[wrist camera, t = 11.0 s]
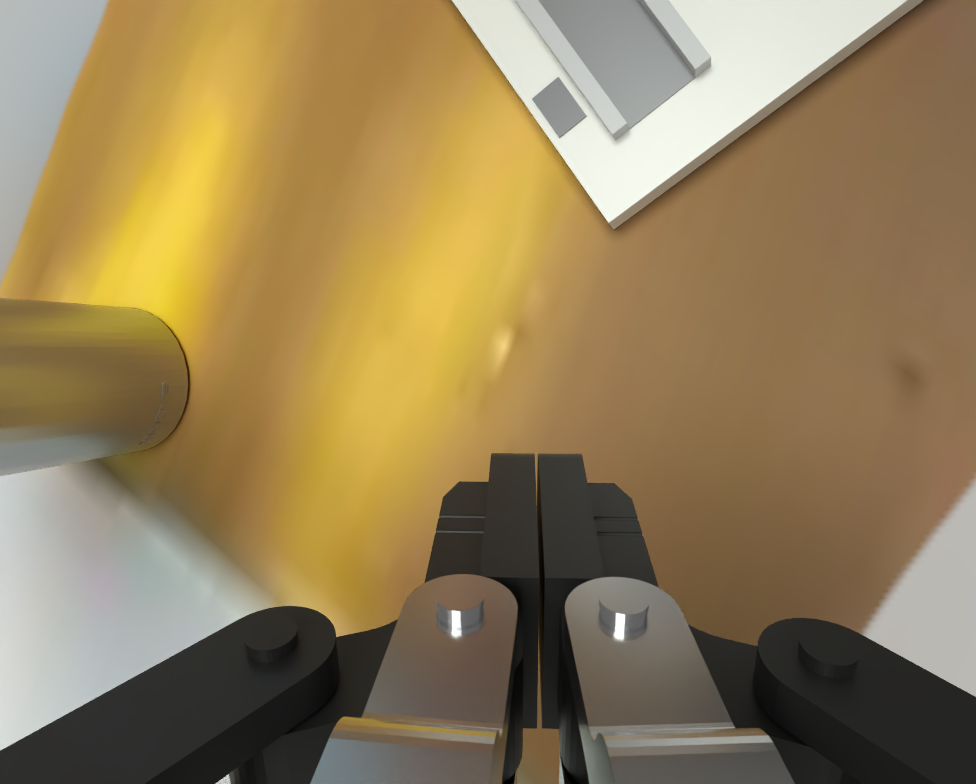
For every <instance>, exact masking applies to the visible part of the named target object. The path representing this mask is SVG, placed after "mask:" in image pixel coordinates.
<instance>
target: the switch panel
mask: <svg viewBox="0 0 976 784" xmlns="http://www.w3.org/2000/svg"><path fill="white" fill-rule="evenodd" d="M452 1H453V2H454V4H455V5H456V7H457V8H458V10H459V11H460V12H461V14H462V15H463V17H464V18H465V20H466V21H467V22H468V24H469V25H470V27H471V28H472V30H473V31H474V32H475V34H476V35H477V37H478V38H479V39H480V41H481V42H482V44H483V45H484V47H485V48H486V49H487V51H488V52H489V54H490V55H491V57H492V58H493V59H494V61H495V62H496V64H497V65H498V66H499V68H500V69H501V71H502V72H503V74H504V75H505V76H506V78H507V79H508V81H509V82H510V84H511V85H512V86H513V88H514V89H515V91H516V92H517V93H518V95H519V96H520V98H521V99H522V101H523V102H524V103H525V105H526V106H527V108H528V109H529V111H530V112H531V113H532V115H533V116H534V118H535V119H536V120H537V122H538V123H539V125H540V126H541V128H542V129H543V130H544V132H545V133H546V135H547V136H548V138H549V139H550V140H551V142H552V143H553V145H554V146H555V147H556V149H557V150H558V152H559V153H560V155H561V156H562V157H563V159H564V160H565V162H566V163H567V165H568V166H569V167H570V169H571V170H572V172H573V173H574V174H575V176H576V177H577V179H578V180H579V182H580V183H581V184H582V186H583V187H584V189H585V190H586V192H587V193H588V194H589V196H590V197H591V199H592V200H593V201H594V203H595V204H596V206H597V207H598V209H599V210H600V211H601V213H602V214H603V216H604V217H605V219H606V220H607V221H608V223H609V224H610V225H611V227H612V228H613V229H616V228H617V227H618V226H620V225H621V224H622V223H624V222H625V221H626V220H628V219H629V218H630V217H632V216H633V215H634V214H636V213H637V212H638V211H640V210H641V209H643V208H644V207H645V206H647V205H648V204H649V203H651V202H652V201H653V200H655V199H656V198H657V197H659V196H660V195H661V194H663V193H664V192H666V191H667V190H668V189H670V188H671V187H672V186H674V185H675V184H676V183H678V182H679V181H680V180H682V179H683V178H684V177H686V176H687V175H688V174H690V173H691V172H693V171H694V170H695V169H697V168H698V167H699V166H701V165H702V164H703V163H705V162H706V161H707V160H709V159H710V158H711V157H713V156H714V155H715V154H717V153H718V152H720V151H721V150H722V149H724V148H725V147H726V146H728V145H729V144H730V143H732V142H733V141H734V140H736V139H737V138H738V137H740V136H741V135H743V134H744V133H745V132H747V131H748V130H749V129H751V128H752V127H753V126H755V125H756V124H757V123H759V122H760V121H761V120H763V119H764V118H765V117H767V116H768V115H770V114H771V113H772V112H774V111H775V110H776V109H778V108H779V107H780V106H782V105H783V104H784V103H786V102H787V101H788V100H790V99H791V98H793V97H794V96H795V95H797V94H798V93H799V92H801V91H802V90H803V89H805V88H806V87H807V86H809V85H810V84H811V83H813V82H814V81H815V80H817V79H818V78H820V77H821V76H822V75H824V74H825V73H826V72H828V71H829V70H830V69H832V68H833V67H834V66H836V65H837V64H838V63H840V62H841V61H843V60H844V59H845V58H847V57H848V56H849V55H851V54H852V53H853V52H855V51H856V50H857V49H859V48H860V47H861V46H863V45H864V44H865V43H867V42H868V41H870V40H871V39H872V38H874V37H875V36H876V35H878V34H879V33H880V32H882V31H883V30H884V29H886V28H887V27H888V26H890V25H891V24H892V23H894V22H895V21H897V20H898V19H899V18H901V17H902V16H903V15H905V14H906V13H907V12H909V11H910V10H911V9H913V8H914V7H915V6H917V5H918V4H920V3H921V2H922V1H924V0H452Z"/></svg>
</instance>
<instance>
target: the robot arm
mask: <svg viewBox="0 0 976 784" xmlns="http://www.w3.org/2000/svg"><path fill="white" fill-rule="evenodd" d="M187 391H188V375H187V367H186V363H185V359H184V355H183V352H182V350H181V348H180V346H179V343H178V341H177V339H176V338H175V337H174V335H173V334H172V332H171V331H170V329H169V328H168V327H167V326H166V325H165V324H164V323H163V322H162V321H161V320H159V319H158V318H157V317H155V316H153V315H152V314H150V313H148V312H146V311H143V310H139V309H136V308H126V307H113V306H100V305H86V304H76V303H62V302H48V301H34V300H21V299H7V298H0V476H4V475H10V474H15V473H21V472H26V471H32V470H37V469H43V468H48V467H54V466H60V465H65V464H71V463H76V462H82V461H88V460H93V459H98V458H104V457H110V456H115V455H121V454H126V453H132V452H137V451H143V450H146V449H149V448H151V447H154V446H156V445H158V444H159V443H160V442H162V441H163V440H164V439H166V438H167V437H168V436H169V435H170V433H171V432H172V431H173V430H174V429H175V427H176V426H177V424H178V422H179V420H180V418H181V416H182V414H183V410H184V407H185V404H186V400H187ZM538 629H539V658H540V688H541V717H542V728H552V729H559V740H560V765H559V784H976V697H975V696H973V695H971V694H969V693H967V692H965V691H964V690H962V689H960V688H958V687H956V686H954V685H953V684H951V683H949V682H947V681H945V680H943V679H941V678H940V677H938V676H936V675H934V674H932V673H931V672H929V671H927V670H925V669H923V668H921V667H920V666H918V665H916V664H914V663H912V662H910V661H908V660H907V659H905V658H903V657H901V656H899V655H897V654H896V653H894V652H892V651H890V650H888V649H887V648H884V647H883V646H881V645H879V644H877V643H876V642H874V641H872V640H870V639H868V638H867V637H865V636H863V635H861V634H859V633H857V632H855V631H853V630H851V629H849V628H846V627H843V626H841V625H838V624H835V623H831V622H828V621H823V620H817V619H809V618H792V619H785V620H781V621H778V622H775V623H773V624H771V625H769V626H768V627H767V628H766V629H765V630H764V631H763V632H762V634H761V635H760V638H759V641H758V646H753V645H748V644H744V643H740V642H736V641H732V640H728V639H723V638H720V637H716V636H713V635H710V634H707V633H705V632H702V631H700V630H698V629H696V628H694V627H692V626H690V625H688V624H687V622H686V619H685V617H684V615H683V613H682V611H681V609H680V607H679V605H678V604H677V602H676V601H675V600H674V599H673V598H672V597H671V596H670V595H669V594H667V593H666V592H665V591H663V590H661V589H660V588H659V587H658V584H657V580H656V577H655V574H654V571H653V567H652V564H651V561H650V557H649V554H648V551H647V547H646V544H645V541H644V538H643V536H642V531H641V528H640V524H639V521H637V514H636V511H635V508H634V505H633V501H632V499H631V498H630V497H629V496H628V495H627V494H626V493H624V492H623V491H622V490H621V489H620V488H619V487H618V486H617V485H616V484H614V483H587V479H586V473H585V468H584V463H583V458H582V454H538V471H537V505H536V480H535V455H534V454H511V453H491V462H490V472H489V482H458V483H457V484H456V485H455V486H454V487H453V488H452V489H451V490H450V491H449V492H448V493H447V494H446V495H445V496H444V497H443V501H442V505H441V510H440V514H439V519H438V524H437V528H436V533H435V537H434V542H433V547H432V551H431V556H430V560H429V565H428V570H427V574H426V579H425V583H424V584H422V585H420V586H419V587H417V588H416V589H415V590H414V591H413V592H411V594H410V595H409V596H408V597H407V599H406V601H405V603H404V605H403V608H402V610H401V613H400V616H399V618H398V619H397V620H396V621H394V622H392V623H390V624H387V625H385V626H382V627H379V628H376V629H372V630H368V631H364V632H359V633H354V634H349V635H345V636H340V637H336V633H335V629H334V626H333V624H332V623H331V621H330V620H329V619H328V618H327V617H326V616H325V615H323V614H321V613H320V612H318V611H315V610H312V609H309V608H305V607H298V606H282V607H274V608H268V609H265V610H261V611H258V612H255V613H252V614H249V615H247V616H245V617H243V618H241V619H239V620H237V621H235V622H234V623H232V624H230V625H228V626H226V627H224V628H223V629H221V630H219V631H217V632H215V633H214V634H212V635H210V636H208V637H206V638H204V639H203V640H201V641H199V642H197V643H195V644H194V645H192V646H190V647H188V648H186V649H184V650H183V651H181V652H179V653H177V654H175V655H174V656H172V657H170V658H168V659H166V660H164V661H163V662H161V663H159V664H157V665H155V666H154V667H152V668H150V669H148V670H146V671H144V672H143V673H141V674H139V675H137V676H135V677H134V678H132V679H130V680H128V681H126V682H124V683H123V684H121V685H119V686H117V687H115V688H114V689H112V690H110V691H108V692H106V693H104V694H103V695H101V696H99V697H97V698H95V699H94V700H92V701H90V702H88V703H86V704H84V705H83V706H81V707H79V708H77V709H75V710H74V711H72V712H70V713H68V714H66V715H65V716H63V717H61V718H59V719H57V720H55V721H54V722H52V723H50V724H48V725H46V726H45V727H43V728H41V729H39V730H37V731H35V732H34V733H32V734H30V735H28V736H26V737H25V738H23V739H21V740H19V741H17V742H15V743H14V744H12V745H10V746H8V747H6V748H5V749H3V750H1V751H0V784H215V783H216V782H218V781H219V780H221V779H222V778H223V777H225V776H226V775H228V774H229V776H230V782H231V784H517V768H518V766H519V764H520V761H521V758H522V749H523V728H537V686H538Z"/></svg>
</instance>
